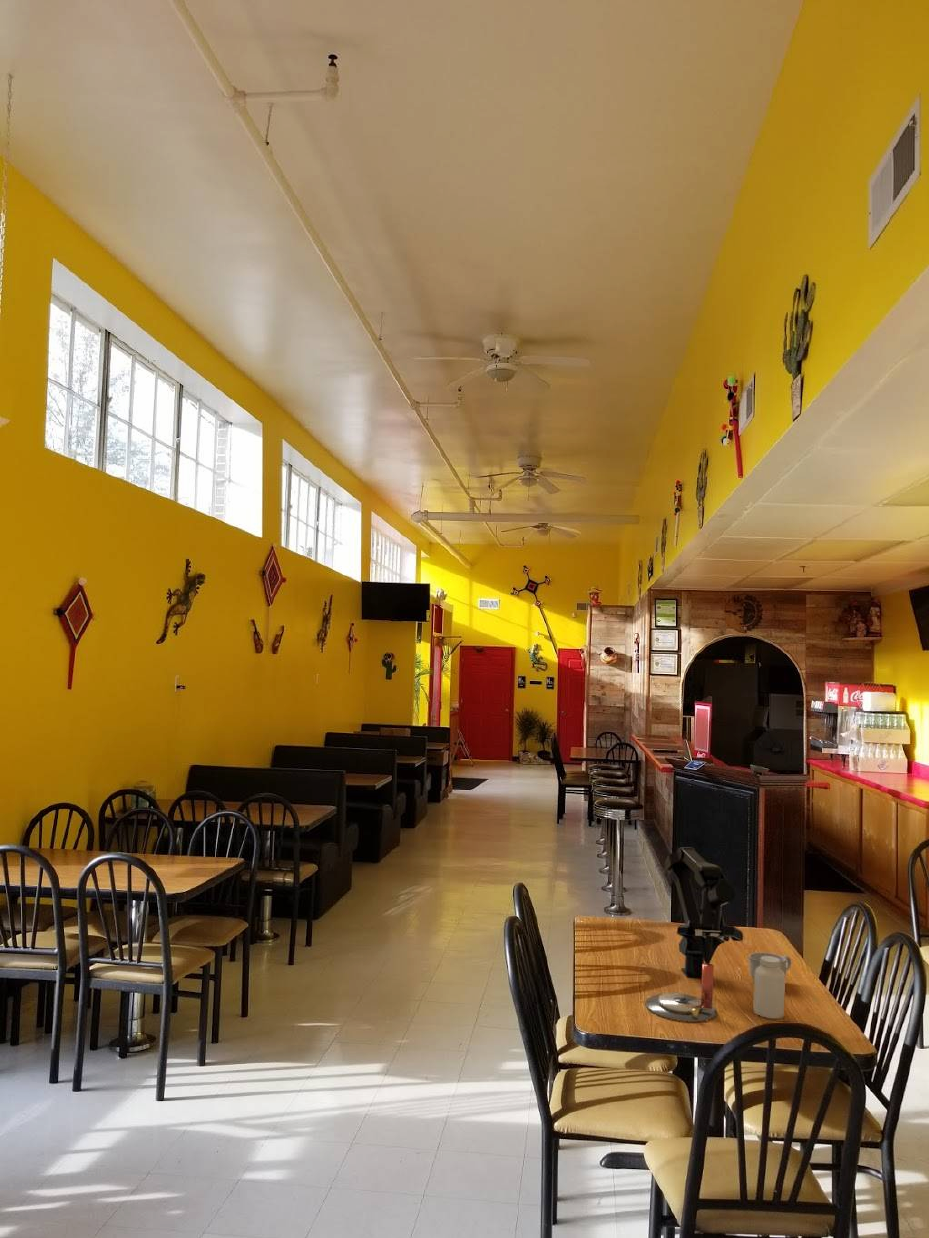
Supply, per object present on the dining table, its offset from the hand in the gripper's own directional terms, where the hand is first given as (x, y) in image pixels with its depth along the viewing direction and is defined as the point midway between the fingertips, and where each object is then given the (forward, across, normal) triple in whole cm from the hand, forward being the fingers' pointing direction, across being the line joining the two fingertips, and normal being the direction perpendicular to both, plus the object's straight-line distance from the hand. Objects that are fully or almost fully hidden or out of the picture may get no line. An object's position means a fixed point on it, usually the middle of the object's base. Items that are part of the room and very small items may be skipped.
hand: (707, 963), depth 259 cm
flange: (+14, 0, +8) cm, 16 cm away
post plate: (+14, +2, +9) cm, 17 cm away
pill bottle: (+11, -15, -8) cm, 20 cm away
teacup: (-2, -4, -30) cm, 30 cm away
